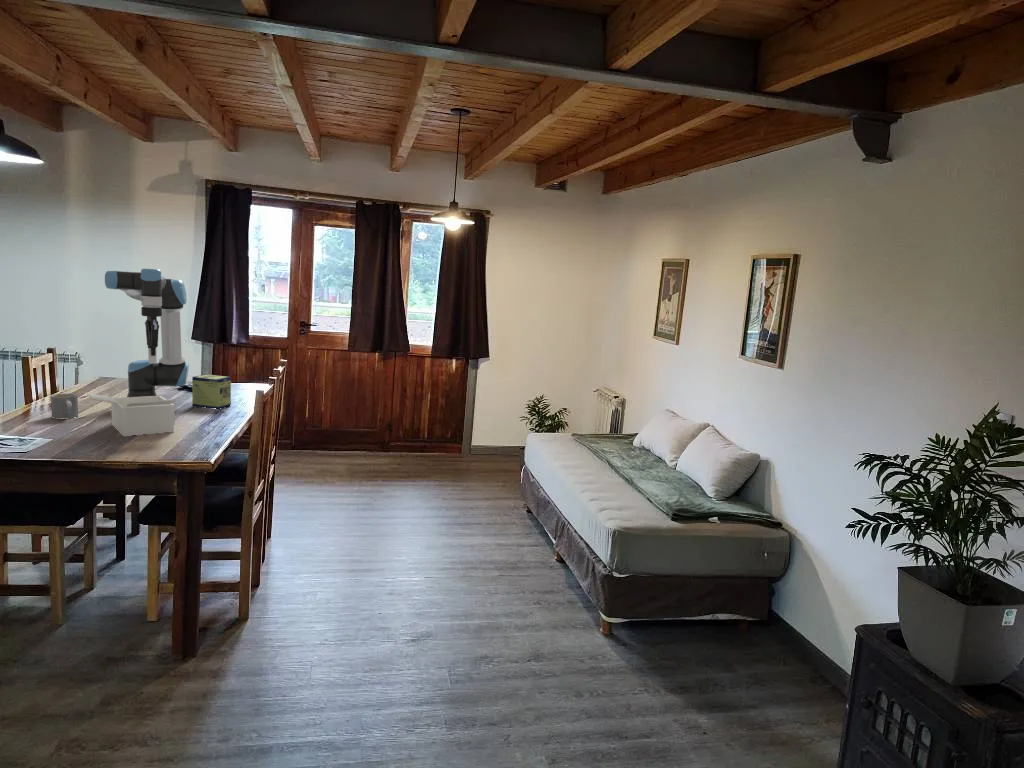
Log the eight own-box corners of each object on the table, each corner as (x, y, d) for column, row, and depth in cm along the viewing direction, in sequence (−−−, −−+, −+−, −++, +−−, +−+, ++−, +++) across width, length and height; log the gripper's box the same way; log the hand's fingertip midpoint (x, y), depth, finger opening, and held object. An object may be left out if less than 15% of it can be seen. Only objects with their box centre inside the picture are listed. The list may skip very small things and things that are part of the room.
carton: (111, 424, 299) (111, 398, 297) (161, 421, 312) (160, 395, 310) (123, 436, 281) (122, 407, 279) (175, 432, 294) (175, 404, 292)
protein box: (219, 409, 343) (219, 379, 341) (191, 406, 346) (191, 376, 344) (231, 406, 354) (231, 376, 351) (204, 403, 357) (204, 374, 354)
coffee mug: (51, 415, 308) (50, 394, 307) (77, 414, 314) (76, 393, 313) (52, 421, 298) (51, 399, 296) (79, 420, 303) (78, 398, 302)
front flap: (125, 405, 279) (130, 402, 272) (170, 402, 290) (176, 399, 283) (126, 406, 279) (130, 403, 272) (171, 403, 290) (176, 400, 283)
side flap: (110, 398, 294) (87, 394, 288) (111, 397, 294) (87, 393, 288) (117, 403, 284) (92, 399, 278) (117, 402, 284) (93, 398, 278)
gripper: (137, 305, 284) (138, 361, 287) (145, 307, 274) (146, 365, 278) (157, 305, 289) (158, 360, 292) (165, 308, 279) (166, 365, 283)
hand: (152, 363), depth 285 cm, fingers closed
